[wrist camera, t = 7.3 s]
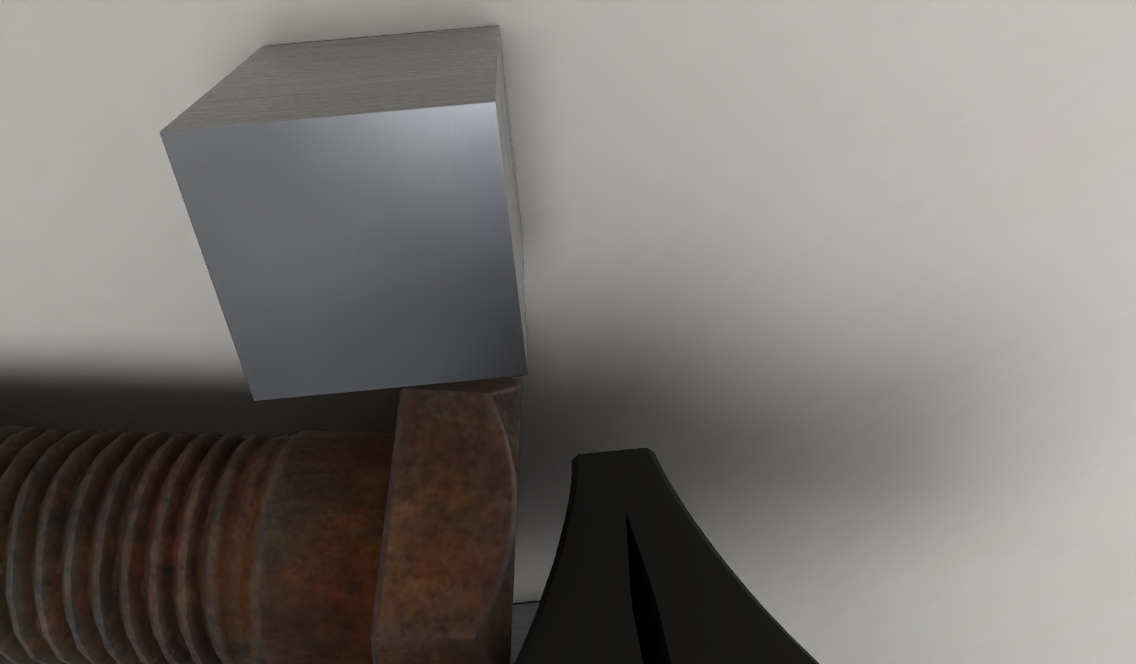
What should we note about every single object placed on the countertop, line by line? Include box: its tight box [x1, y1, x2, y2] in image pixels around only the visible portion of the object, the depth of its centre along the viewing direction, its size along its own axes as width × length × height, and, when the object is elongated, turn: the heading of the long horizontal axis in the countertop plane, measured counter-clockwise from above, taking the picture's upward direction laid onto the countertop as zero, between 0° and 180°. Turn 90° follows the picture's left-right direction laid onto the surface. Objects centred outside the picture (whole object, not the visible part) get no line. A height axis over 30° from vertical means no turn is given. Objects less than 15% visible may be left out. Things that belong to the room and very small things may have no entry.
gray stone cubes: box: [160, 26, 540, 664], centre depth 12 cm, size 14×15×4 cm
